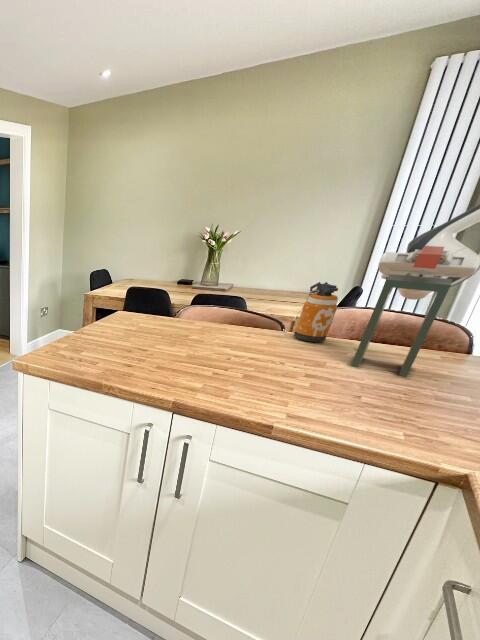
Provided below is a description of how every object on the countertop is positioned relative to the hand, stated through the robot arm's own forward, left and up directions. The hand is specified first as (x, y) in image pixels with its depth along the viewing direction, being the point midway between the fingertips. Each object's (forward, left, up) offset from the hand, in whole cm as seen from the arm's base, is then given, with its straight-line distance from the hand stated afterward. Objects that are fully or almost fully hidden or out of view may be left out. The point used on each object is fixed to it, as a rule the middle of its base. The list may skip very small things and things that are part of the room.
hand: (431, 252), depth 113 cm
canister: (+18, -13, -32) cm, 39 cm away
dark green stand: (+4, +10, -32) cm, 34 cm away
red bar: (+2, +6, -2) cm, 7 cm away
